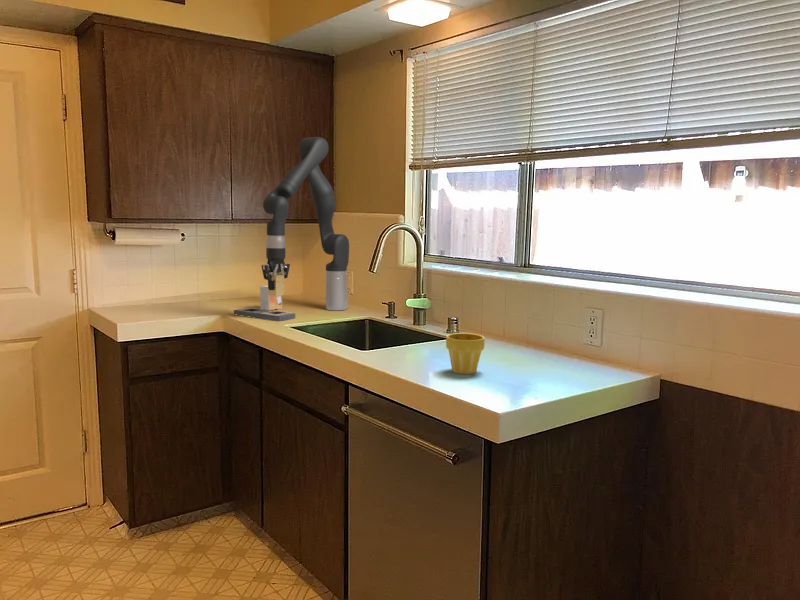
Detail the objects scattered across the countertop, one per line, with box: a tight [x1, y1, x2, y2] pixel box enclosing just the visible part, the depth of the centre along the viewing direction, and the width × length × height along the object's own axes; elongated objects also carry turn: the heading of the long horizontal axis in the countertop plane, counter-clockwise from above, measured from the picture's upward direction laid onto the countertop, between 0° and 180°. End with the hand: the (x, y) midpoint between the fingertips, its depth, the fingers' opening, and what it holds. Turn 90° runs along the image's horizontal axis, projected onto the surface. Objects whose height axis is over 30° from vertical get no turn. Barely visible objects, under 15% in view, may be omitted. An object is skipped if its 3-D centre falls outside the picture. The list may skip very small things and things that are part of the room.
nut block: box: [268, 274, 285, 296], centre depth 258 cm, size 4×4×8 cm
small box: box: [259, 285, 283, 311], centre depth 283 cm, size 8×6×10 cm
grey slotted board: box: [233, 307, 296, 322], centre depth 264 cm, size 9×26×2 cm, turn 56°
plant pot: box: [445, 332, 486, 375], centre depth 176 cm, size 10×10×10 cm
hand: (275, 289), depth 258 cm, fingers closed on nut block, 4 cm apart
